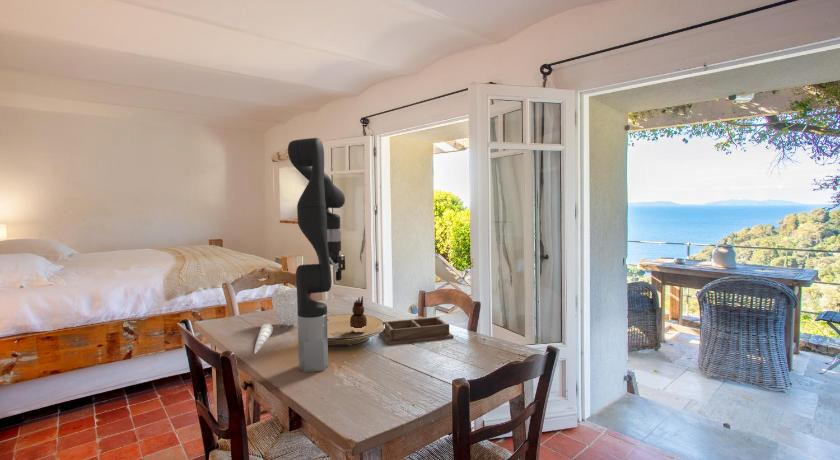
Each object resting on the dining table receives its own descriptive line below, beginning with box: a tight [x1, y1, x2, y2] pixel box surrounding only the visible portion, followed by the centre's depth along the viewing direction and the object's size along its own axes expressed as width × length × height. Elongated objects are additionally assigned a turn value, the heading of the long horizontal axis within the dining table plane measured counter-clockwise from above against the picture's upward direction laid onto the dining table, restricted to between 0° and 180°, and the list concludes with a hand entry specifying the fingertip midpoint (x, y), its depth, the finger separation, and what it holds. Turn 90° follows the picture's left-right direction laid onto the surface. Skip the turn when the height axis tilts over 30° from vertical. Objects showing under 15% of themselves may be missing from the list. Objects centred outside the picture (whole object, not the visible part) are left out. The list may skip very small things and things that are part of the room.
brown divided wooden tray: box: [379, 316, 455, 346], centre depth 164 cm, size 16×26×5 cm, turn 108°
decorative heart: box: [271, 285, 298, 328], centre depth 178 cm, size 18×11×17 cm, turn 57°
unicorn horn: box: [253, 323, 274, 355], centre depth 155 cm, size 5×24×5 cm, turn 7°
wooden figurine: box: [349, 295, 368, 328], centre depth 169 cm, size 7×6×15 cm
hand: (332, 278), depth 168 cm, fingers open, 8 cm apart
